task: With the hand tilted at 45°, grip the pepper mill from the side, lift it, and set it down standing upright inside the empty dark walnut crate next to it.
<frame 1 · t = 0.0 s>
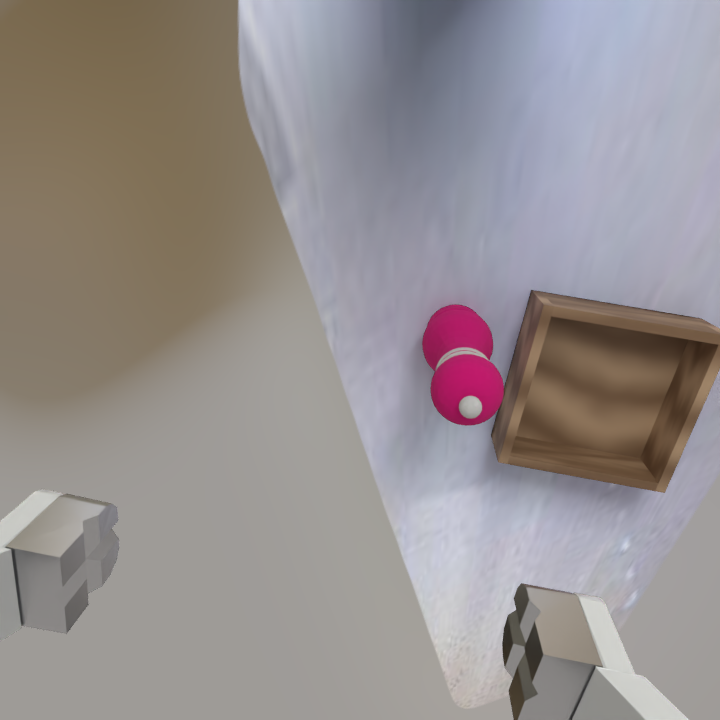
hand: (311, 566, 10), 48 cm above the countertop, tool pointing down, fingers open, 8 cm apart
crate: (589, 380, 58), on the countertop
pepper mill: (454, 330, 58), on the countertop
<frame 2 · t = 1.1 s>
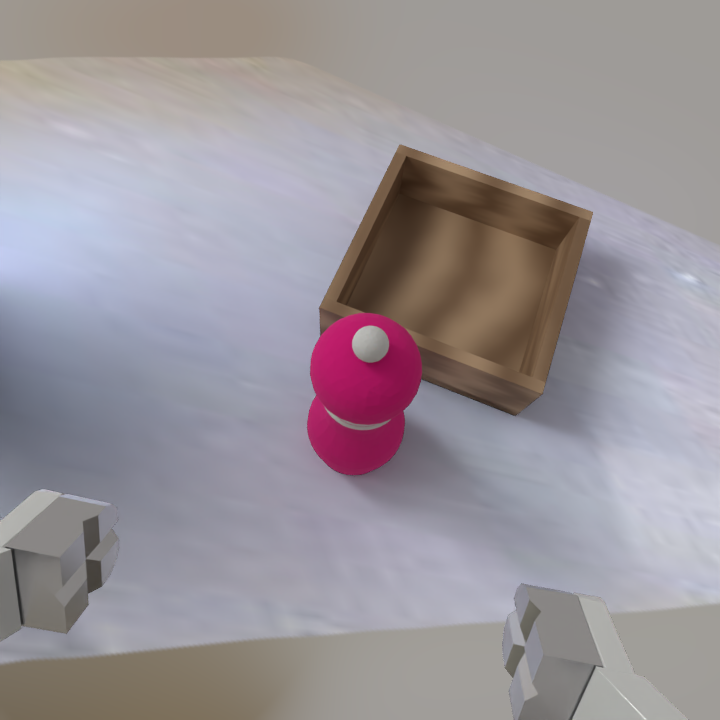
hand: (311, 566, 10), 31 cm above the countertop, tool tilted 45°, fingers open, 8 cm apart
crate: (448, 293, 48), on the countertop
pepper mill: (353, 437, 43), on the countertop
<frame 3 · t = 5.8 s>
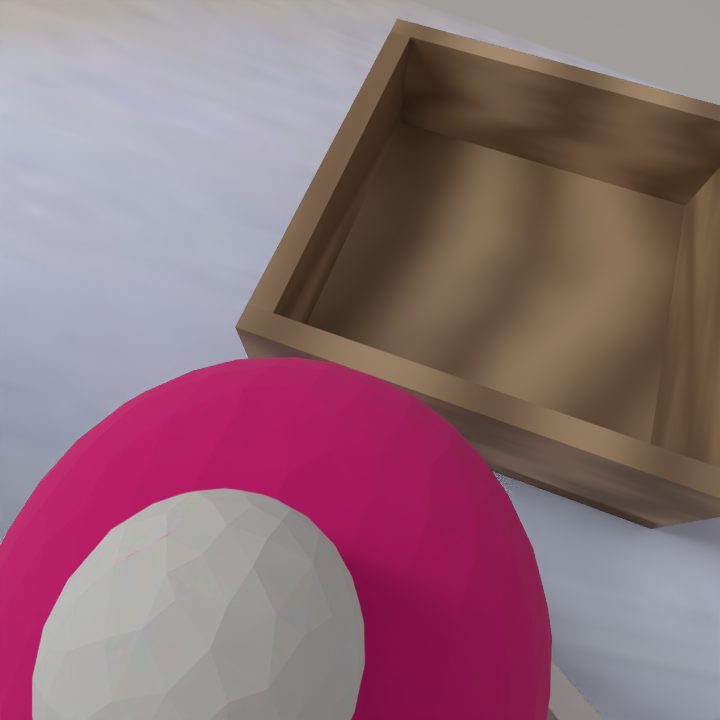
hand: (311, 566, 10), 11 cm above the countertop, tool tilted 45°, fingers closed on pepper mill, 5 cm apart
crate: (497, 289, 26), on the countertop
pepper mill: (325, 591, 21), on the countertop, touching gripper
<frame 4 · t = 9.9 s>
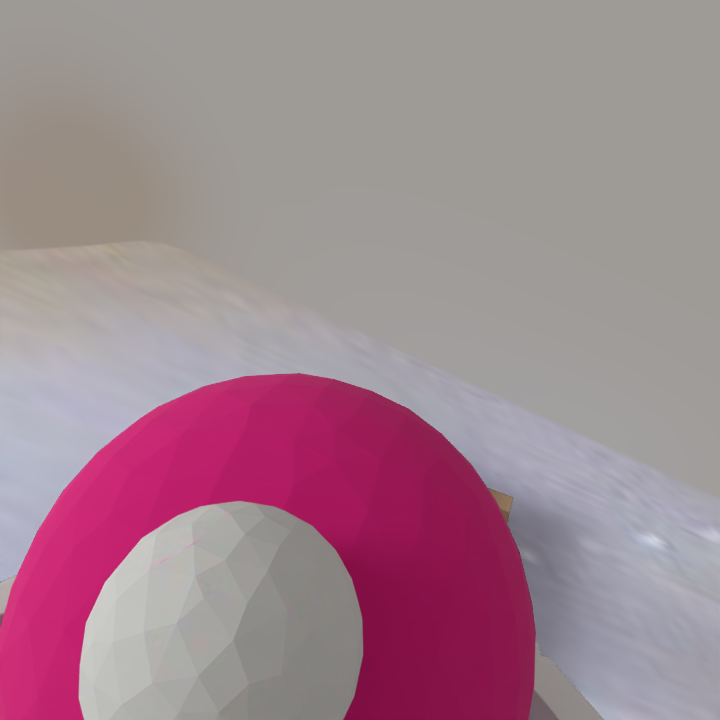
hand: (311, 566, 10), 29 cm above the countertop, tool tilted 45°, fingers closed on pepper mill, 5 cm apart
crate: (334, 585, 37), on the countertop
pepper mill: (325, 592, 21), point 17 cm above the countertop, touching gripper
when the fingers open (14 cm above the countertop, at t = 14.2 s): pepper mill moves 2 cm, resting on crate.
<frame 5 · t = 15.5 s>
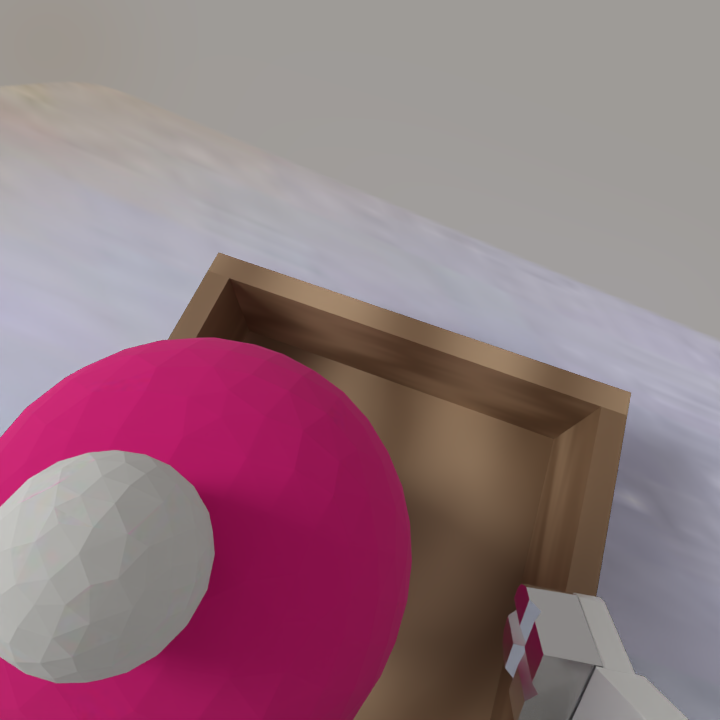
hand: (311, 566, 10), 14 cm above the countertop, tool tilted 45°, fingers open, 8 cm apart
crate: (337, 544, 24), on the countertop
pepper mill: (293, 534, 23), point 1 cm above the countertop, touching crate
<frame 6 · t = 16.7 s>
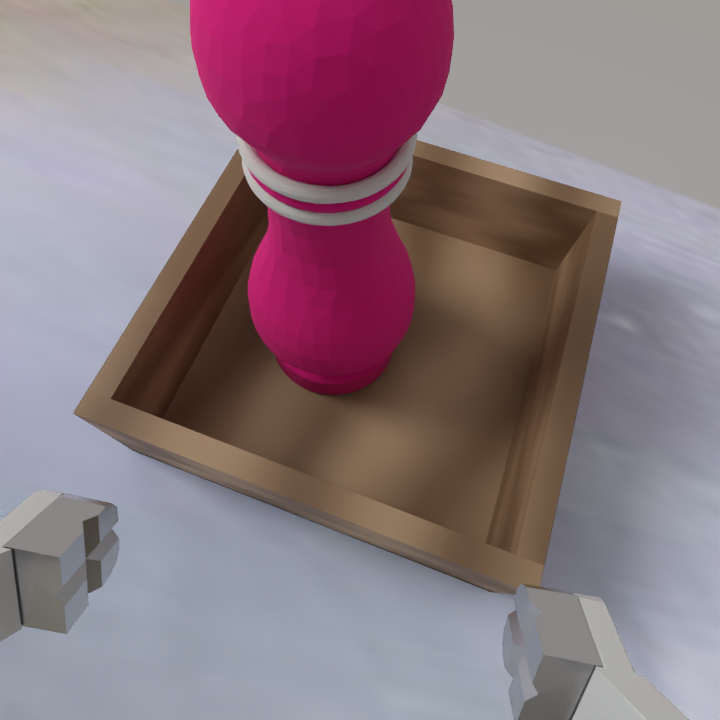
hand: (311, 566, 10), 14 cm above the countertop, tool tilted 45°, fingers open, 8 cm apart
crate: (370, 353, 27), on the countertop
pepper mill: (333, 340, 27), point 1 cm above the countertop, touching crate
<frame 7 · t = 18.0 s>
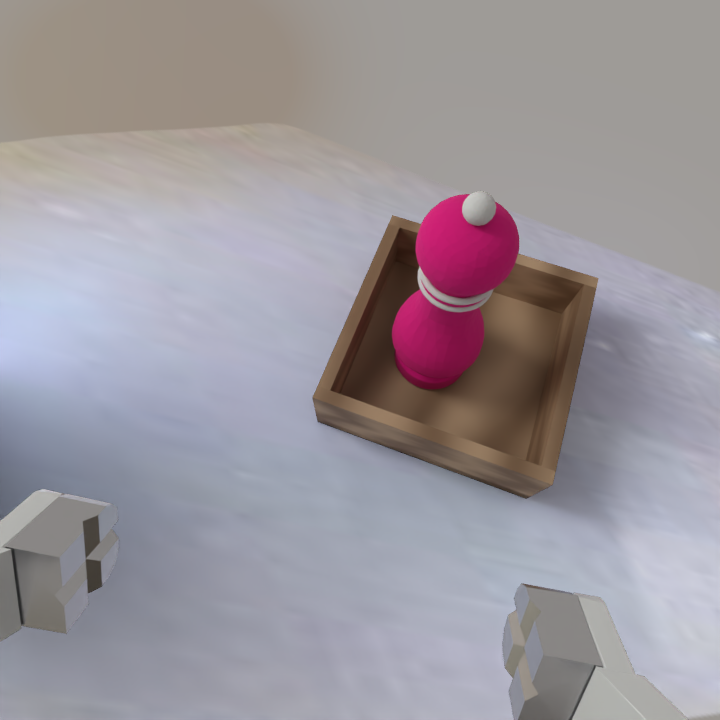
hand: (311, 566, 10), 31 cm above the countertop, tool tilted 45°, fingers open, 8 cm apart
crate: (450, 364, 46), on the countertop
pepper mill: (429, 357, 45), point 1 cm above the countertop, touching crate
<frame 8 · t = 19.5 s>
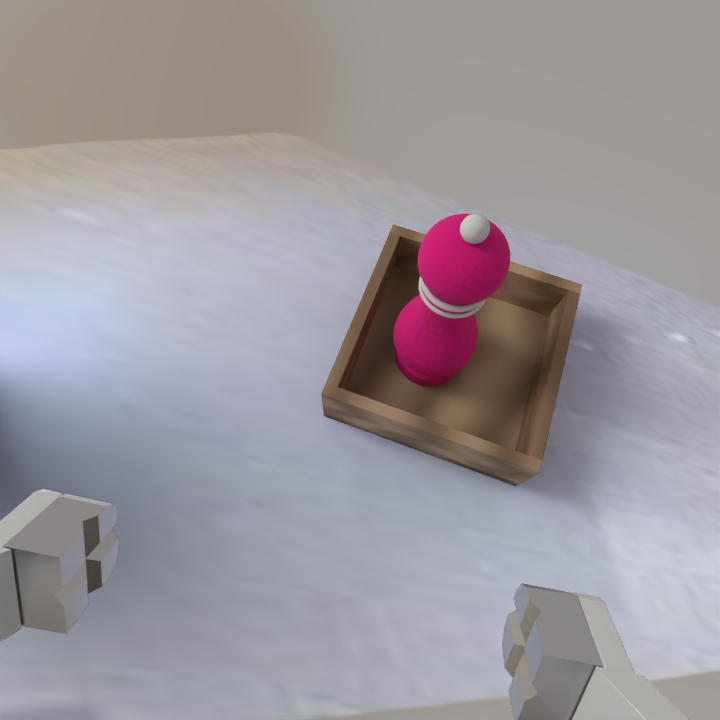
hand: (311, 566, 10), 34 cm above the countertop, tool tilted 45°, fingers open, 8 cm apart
crate: (446, 363, 50), on the countertop
pepper mill: (427, 356, 49), point 1 cm above the countertop, touching crate
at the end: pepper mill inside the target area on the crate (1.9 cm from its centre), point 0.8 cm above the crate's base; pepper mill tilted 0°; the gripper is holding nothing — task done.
